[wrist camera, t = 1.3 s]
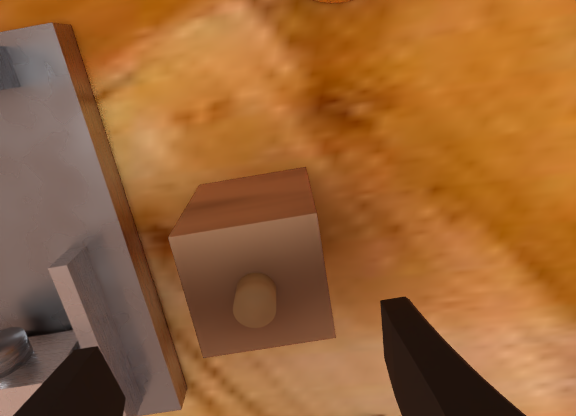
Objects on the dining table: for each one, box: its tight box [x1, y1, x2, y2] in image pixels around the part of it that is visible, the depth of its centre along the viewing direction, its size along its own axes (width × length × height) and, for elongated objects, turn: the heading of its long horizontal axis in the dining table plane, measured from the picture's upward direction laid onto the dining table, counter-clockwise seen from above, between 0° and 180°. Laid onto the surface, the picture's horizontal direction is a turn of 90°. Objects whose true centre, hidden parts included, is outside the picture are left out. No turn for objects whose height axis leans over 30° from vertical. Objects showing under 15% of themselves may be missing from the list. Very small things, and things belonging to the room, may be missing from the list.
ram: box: [0, 327, 81, 416], centre depth 19 cm, size 5×6×4 cm
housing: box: [168, 167, 336, 358], centre depth 17 cm, size 5×5×7 cm
